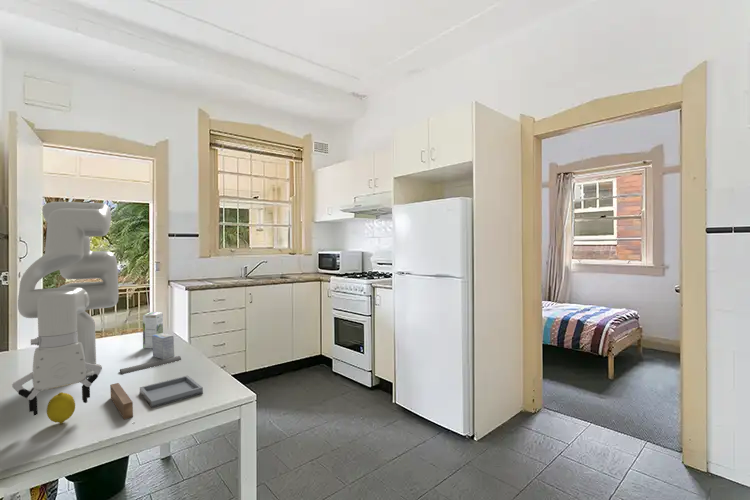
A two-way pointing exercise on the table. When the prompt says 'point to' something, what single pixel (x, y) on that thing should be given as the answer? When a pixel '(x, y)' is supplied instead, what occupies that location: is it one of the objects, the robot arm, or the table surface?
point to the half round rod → (149, 365)
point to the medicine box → (163, 346)
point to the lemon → (60, 407)
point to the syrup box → (151, 327)
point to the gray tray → (170, 391)
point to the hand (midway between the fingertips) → (60, 407)
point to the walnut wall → (121, 401)
